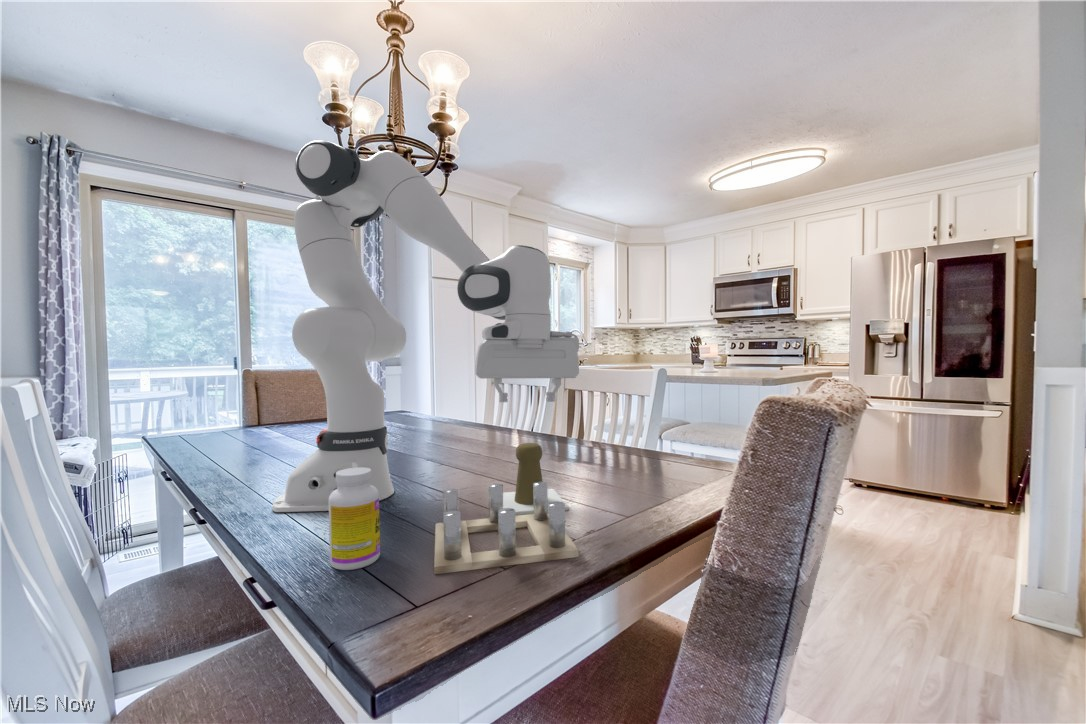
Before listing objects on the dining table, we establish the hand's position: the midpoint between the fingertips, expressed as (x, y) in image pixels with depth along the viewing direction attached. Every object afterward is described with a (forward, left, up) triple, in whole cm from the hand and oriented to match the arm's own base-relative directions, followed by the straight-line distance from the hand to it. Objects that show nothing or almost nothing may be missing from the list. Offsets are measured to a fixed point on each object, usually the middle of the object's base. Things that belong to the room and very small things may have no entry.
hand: (527, 401), depth 88 cm
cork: (0, 0, -19) cm, 19 cm away
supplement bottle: (-29, -18, -20) cm, 39 cm away
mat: (0, 0, -20) cm, 20 cm away
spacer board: (-8, -17, -20) cm, 27 cm away
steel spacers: (-8, -17, -20) cm, 27 cm away
